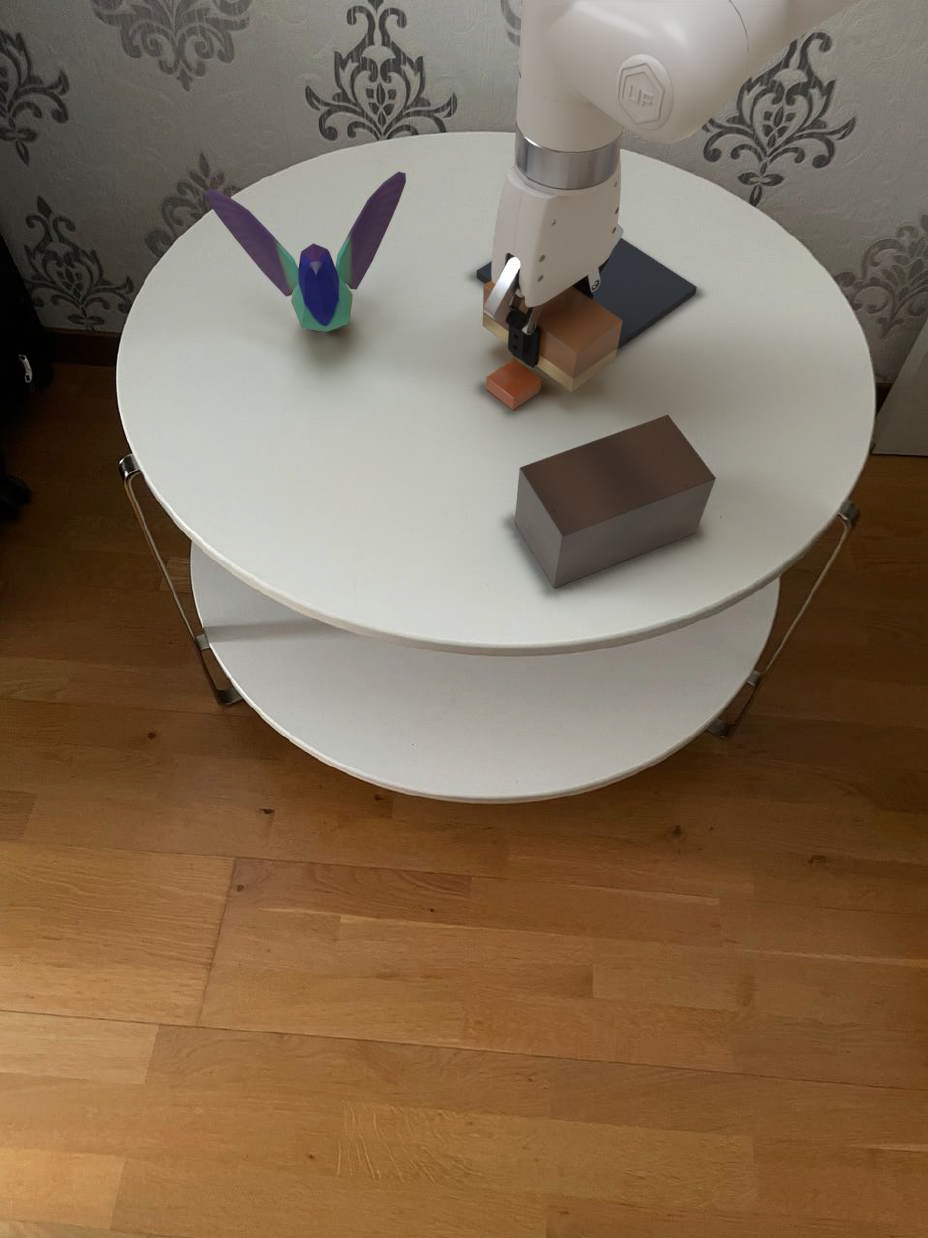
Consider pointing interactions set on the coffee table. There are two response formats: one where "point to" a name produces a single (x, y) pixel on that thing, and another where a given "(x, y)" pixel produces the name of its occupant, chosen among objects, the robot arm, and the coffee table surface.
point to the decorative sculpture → (315, 256)
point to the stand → (611, 499)
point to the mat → (633, 289)
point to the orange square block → (513, 384)
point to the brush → (568, 336)
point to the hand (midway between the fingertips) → (548, 338)
